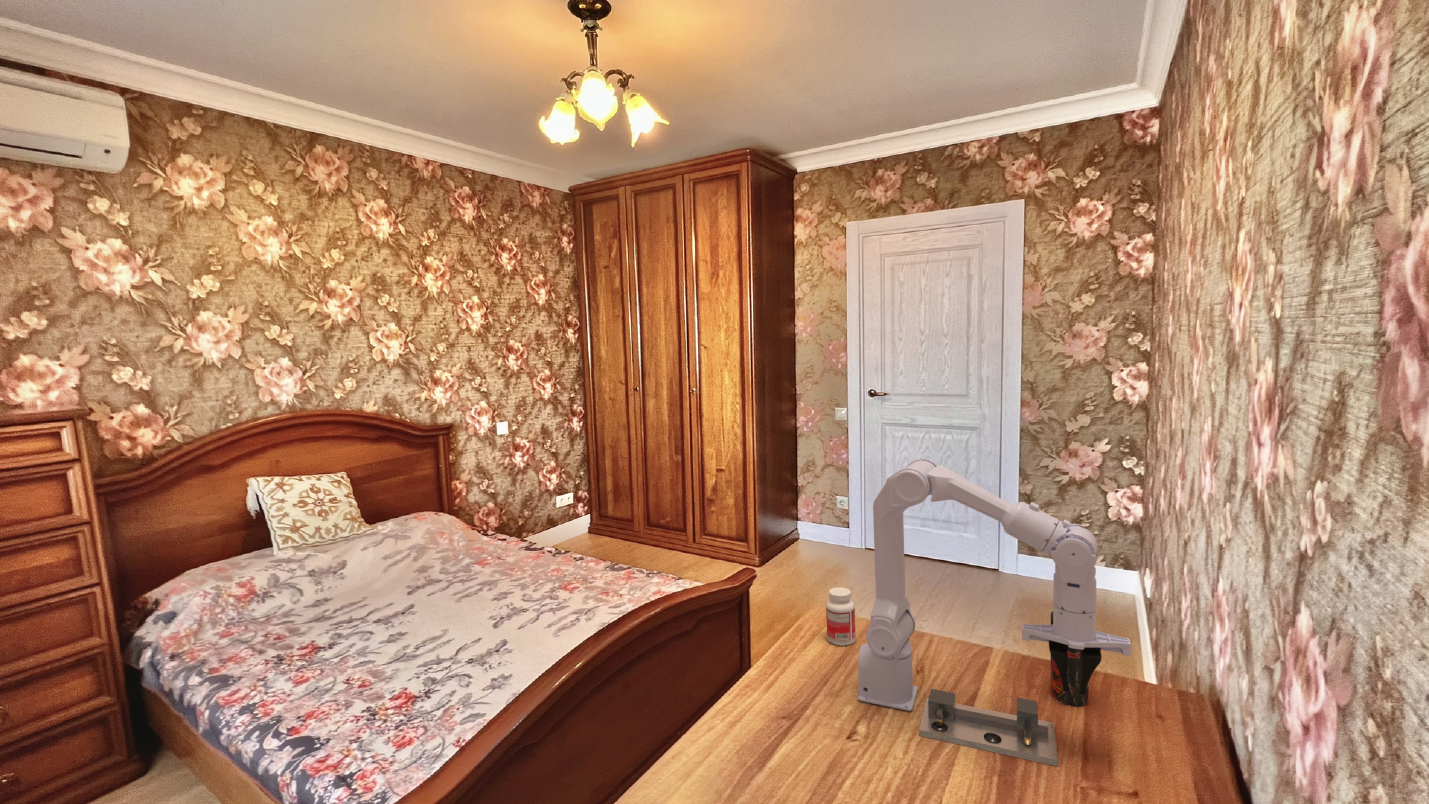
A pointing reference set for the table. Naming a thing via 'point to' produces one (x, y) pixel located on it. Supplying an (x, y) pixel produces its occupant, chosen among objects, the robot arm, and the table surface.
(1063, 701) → the deodorant
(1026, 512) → the robot arm
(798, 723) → the table surface
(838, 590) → the pill bottle
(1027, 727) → the sliding leg
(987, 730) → the hole plate
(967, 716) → the beam
